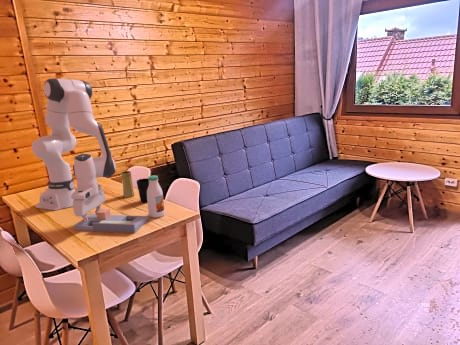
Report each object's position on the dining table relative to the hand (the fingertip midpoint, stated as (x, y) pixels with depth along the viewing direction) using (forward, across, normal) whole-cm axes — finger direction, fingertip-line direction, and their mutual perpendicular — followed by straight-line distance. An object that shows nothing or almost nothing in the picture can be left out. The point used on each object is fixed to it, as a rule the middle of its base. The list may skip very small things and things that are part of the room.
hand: (92, 217), depth 168 cm
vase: (+4, -41, -2) cm, 41 cm away
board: (+4, -1, +9) cm, 10 cm away
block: (+1, -4, +3) cm, 5 cm away
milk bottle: (+4, -14, +26) cm, 30 cm away
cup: (+4, -33, +12) cm, 35 cm away
